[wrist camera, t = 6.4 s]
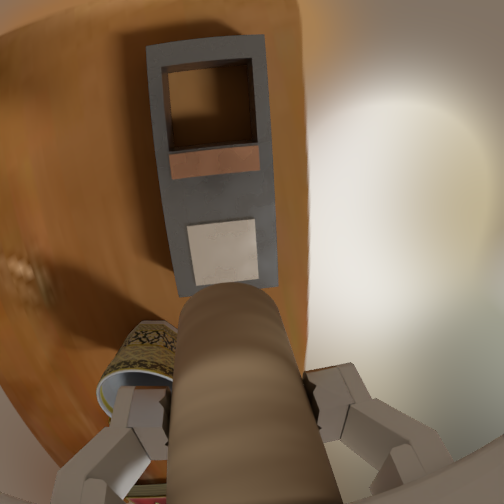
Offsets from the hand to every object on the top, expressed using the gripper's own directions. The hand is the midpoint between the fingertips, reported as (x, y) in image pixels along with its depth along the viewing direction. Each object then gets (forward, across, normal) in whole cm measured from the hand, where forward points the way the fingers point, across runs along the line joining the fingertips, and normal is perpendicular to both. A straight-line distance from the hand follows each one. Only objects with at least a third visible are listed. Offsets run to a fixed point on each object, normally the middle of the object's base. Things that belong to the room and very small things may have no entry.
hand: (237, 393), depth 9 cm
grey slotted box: (+23, 0, -3) cm, 23 cm away
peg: (+4, 0, 0) cm, 4 cm away
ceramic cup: (+23, +10, +17) cm, 31 cm away
